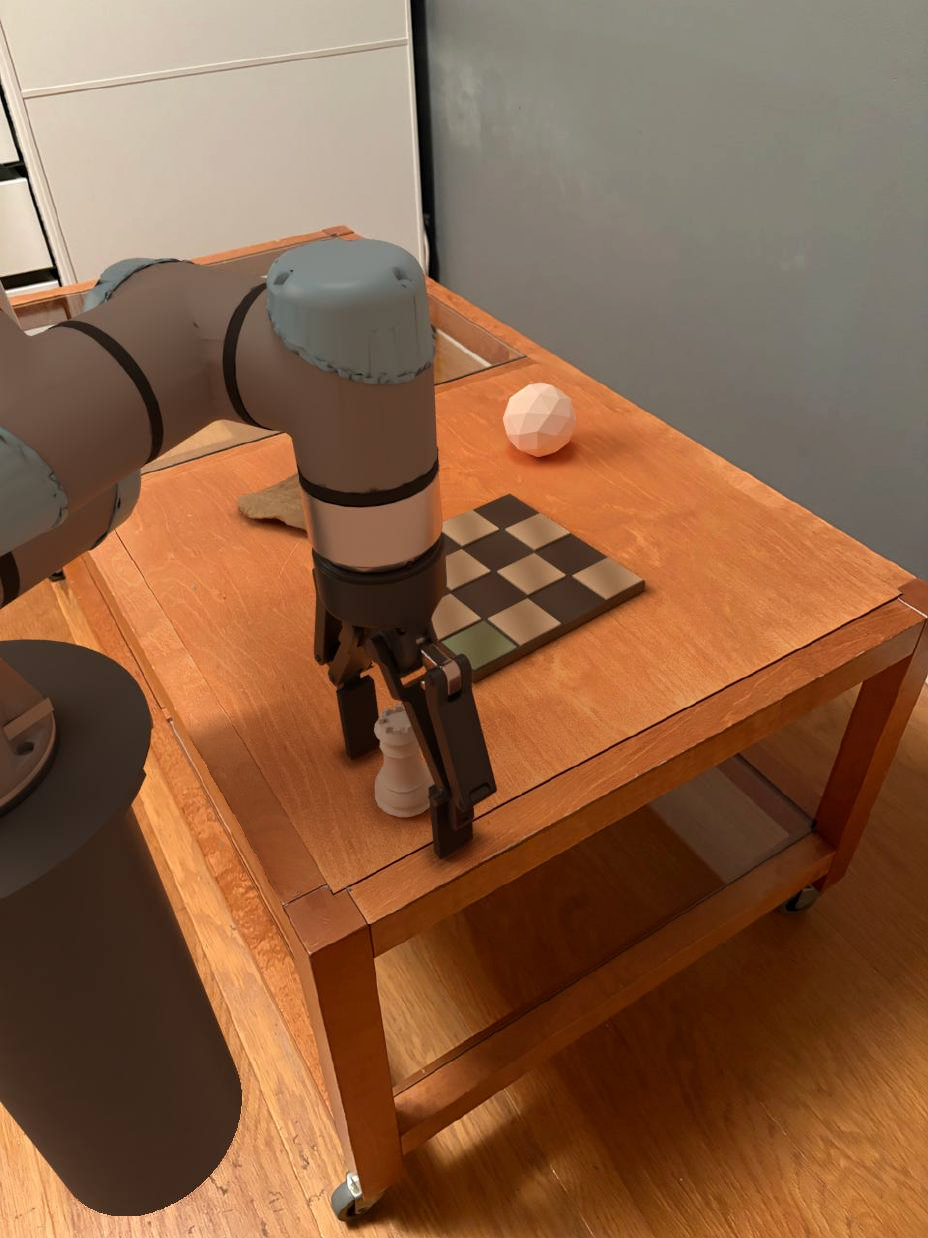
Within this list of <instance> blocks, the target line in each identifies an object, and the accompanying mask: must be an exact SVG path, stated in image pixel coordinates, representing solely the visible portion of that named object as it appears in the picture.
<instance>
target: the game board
mask: <svg viewBox="0 0 928 1238" xmlns="http://www.w3.org/2000/svg"><path fill="white" fill-rule="evenodd" d="M442 533H443V535H444V540H445V554H446V571H447V586H446V591H445V593H444V595H443V597H442V599H441V601H440V602H439V604H438V606H437V608H436V610H435V612H434V614H433V616H432V622H433V626H434V629H435V632H436V635H437V638H438V648H439V649H440V650H441V651H442V652H443V653H444V654H445V655H446V656H448V657H449V658H450V659H451V658H453V657H455V656H456V655H458V654H460V653H462V654H464V655H465V656H466V657H467V658H468V660H469V661H470V664H471V668H472V683H476V682H479V681H480V680H483V679H484V678H485V677H488V676H490V675H491V674H493V673H494V672H496V671H498V670H500V669H502V668H504V667H506V666H507V665H510V664H511V663H513V662H515V661H517V660H519V659H520V658H523V657H525V656H526V655H528V654H529V653H532V652H534V651H535V650H537V649H539V648H541V647H543V646H544V645H546V644H548V643H550V642H552V641H554V640H556V639H557V638H559V637H561V636H563V635H564V634H566V633H568V632H570V631H573V630H574V629H576V628H578V627H579V626H581V625H583V624H585V623H587V622H589V621H590V620H592V619H594V618H596V617H597V616H599V615H602V614H603V613H605V612H607V611H609V610H611V609H612V608H614V607H617V606H618V605H619V604H621V603H623V602H625V601H628V600H629V599H631V598H632V597H635V596H636V595H639V594H640V593H642V592H644V591H645V590H646V580H644V579H643V578H641V577H640V576H639V575H637V574H635V573H634V572H632V571H631V570H629V569H628V568H626V567H624V566H623V565H622V564H620V563H619V562H617V561H615V560H614V559H613V558H611V557H609V556H607V555H605V554H604V553H602V552H601V551H600V550H598V549H597V548H595V547H593V546H591V545H590V544H589V543H587V542H586V541H584V540H583V539H581V538H579V537H577V536H576V535H575V534H573V533H572V532H571V531H569V530H567V529H566V528H564V527H563V526H561V525H560V524H558V523H557V522H555V521H554V520H553V519H551V518H549V517H548V516H546V515H545V514H543V513H541V512H539V511H538V510H536V509H535V508H533V507H532V506H530V505H528V504H527V503H525V502H524V501H523V500H521V499H520V498H518V497H517V496H514V494H512V493H507V494H505V495H503V496H500V497H498V498H496V499H494V500H491V501H489V502H487V503H485V504H482V505H479V506H478V507H475V508H472V509H469V510H467V511H465V512H463V513H461V514H458V515H456V516H454V517H451V518H449V519H447V520H445V521H443V528H442Z"/></svg>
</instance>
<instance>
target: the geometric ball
mask: <svg viewBox="0 0 928 1238" xmlns="http://www.w3.org/2000/svg"><path fill="white" fill-rule="evenodd" d="M502 421H503V425H504V430H505V433H506V436H507V438H508V439H509V442H511V443H512V445H514V447H515V448H516V449H517V450H519V451H520V452H522V453H526V454H528V455H530V456H533V457H536V458H541V457H544V456H548V455H552V454H554V453H556V452H558V451H559V450H561V449H562V448H563V447H564V446H565V445H567V444H568V443H570V440H571V438H572V435H573V432H574V431H575V427H576V424H577V421H578V420H577V416H576V413H575V410H574V406H573V402H572V399H571V398H570V397H569V396H568V395H567V394H566V393H565V392H564V391H562V390H561V389H559V388H558V387H557V386H555V385H553V384H551V383H550V384H549V383H545V382H537V383H530V384H528V385H526V386H525V387H524V388H523V387H522V389H520V390H519V391H517V392H516V393H515V394H513V395H511V396H510V397H509V399H508V403H507V405H506V408H505V411H504V414H503V416H502Z"/></svg>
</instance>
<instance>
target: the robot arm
mask: <svg viewBox="0 0 928 1238" xmlns="http://www.w3.org/2000/svg"><path fill="white" fill-rule="evenodd" d="M428 297H429V296H428V287H427V281H426V276H425V272H424V270H423V267H422V265H421V263H420V262H419V261H418V259H417V258H416V256H414V255H413V254H412V253H411V252H409V251H408V250H407V249H405V248H403V247H401V246H400V245H397V244H395V243H393V242H389V241H386V240H385V241H384V240H380V239H375V238H357V239H353V240H348V239H346V240H345V239H343V238H335V239H334V238H331V239H325V240H318V241H313V242H308V243H306V244H302V245H299V246H296V247H293V248H292V249H289V250H288V251H285V252H283V253H282V254H281V255H279V256H278V257H277V258H276V259H275V260H274V261H273V262H272V263H271V266H270V268H269V269H268V272H267V275H266V277H262V276H257V275H253V274H247V273H244V272H243V273H242V272H239V271H238V272H237V271H232V270H228V269H227V270H226V269H222V268H218V267H212V266H207V265H202V264H201V263H195V262H193V261H192V260H188V259H183V260H179V259H178V258H175V257H167V258H165V257H164V258H150V257H149V258H148V257H132V258H126V259H121V260H119V261H117V262H115V263H113V264H111V265H109V266H108V267H107V268H105V269H104V270H103V272H102V273H100V277H99V279H98V280H97V282H96V283H95V285H94V286H93V287H92V288H91V289H90V290H89V291H88V292H87V294H86V295H85V298H84V301H83V305H82V310H81V313H80V314H78V315H75V316H74V317H72V318H69V319H68V320H64V321H61V322H58V323H57V324H54V325H51V326H50V327H48V328H47V329H45V330H44V331H40V332H38V333H36V334H32V335H29V334H27V333H26V332H25V331H24V330H23V328H22V325H21V323H20V321H19V318H18V316H17V314H16V312H15V309H14V308H13V306H12V303H11V301H10V299H9V297H8V294H7V292H6V290H5V288H4V286H3V283H2V281H1V280H0V610H3V608H5V607H6V606H8V605H9V604H11V603H12V602H14V601H15V600H17V599H18V598H20V597H21V596H23V595H25V594H26V593H27V592H29V591H30V590H32V589H33V588H35V587H36V586H37V585H39V584H41V583H42V582H43V581H45V580H46V579H48V578H50V577H51V576H52V575H54V574H55V573H57V572H58V571H59V570H61V569H63V568H65V567H66V566H67V565H69V564H70V563H71V562H73V561H74V560H76V559H78V558H79V557H80V556H82V555H84V554H85V553H86V552H89V551H92V550H94V549H96V548H97V547H99V546H100V545H102V543H103V542H104V541H105V540H106V539H107V538H108V536H109V535H110V534H111V533H113V532H114V531H115V530H116V529H118V528H119V527H120V526H122V525H123V524H124V523H125V522H126V521H127V520H128V519H129V518H130V517H131V516H132V514H133V512H134V509H135V508H136V506H137V503H138V501H139V498H140V495H141V489H142V468H144V467H146V466H147V465H148V464H150V463H152V462H154V461H156V460H157V459H159V458H160V457H162V456H164V455H165V454H166V453H168V452H170V451H171V450H173V449H175V448H177V446H179V445H181V444H182V443H183V442H185V441H187V440H188V439H190V438H192V437H193V436H194V435H196V434H197V433H199V432H200V431H202V430H203V429H205V428H207V427H208V426H210V425H212V424H213V423H215V422H218V421H229V422H233V423H238V424H241V425H246V426H250V427H254V428H258V429H261V430H266V431H271V432H279V433H283V434H287V435H288V436H289V437H290V439H291V443H292V449H293V454H294V458H295V464H296V469H297V472H298V475H299V488H300V494H301V499H302V505H303V511H304V517H305V523H306V529H307V531H306V534H307V541H308V543H309V544H310V546H311V557H312V563H313V568H312V570H311V573H312V579H313V584H314V589H315V613H314V636H313V656H314V660H315V662H316V663H317V664H318V665H319V666H320V667H322V666H325V665H326V666H327V667H328V668H329V669H328V671H327V676H328V679H329V681H330V683H331V684H332V685H333V686H334V687H336V690H335V695H336V699H337V706H338V712H339V719H340V724H341V729H342V730H341V731H342V736H343V741H344V747H345V754H346V755H347V756H348V758H349V759H350V760H351V761H353V760H354V759H356V758H358V757H360V756H361V755H363V754H366V753H367V752H369V751H371V750H372V749H374V748H376V747H378V746H380V740H379V739H378V738H377V736H376V734H375V732H374V728H375V723H376V722H377V720H378V719H379V715H380V713H379V705H378V699H377V691H376V682H375V679H374V678H373V676H371V675H370V674H366V675H364V676H362V677H361V674H363V673H365V672H367V671H369V670H371V669H373V668H375V667H376V666H375V665H373V663H374V664H376V665H377V666H378V667H379V670H380V672H381V675H382V677H383V680H384V682H385V685H386V687H387V690H388V692H389V695H390V697H391V699H393V700H394V701H396V702H401V704H402V705H403V709H405V711H406V714H407V716H408V719H409V721H410V724H411V726H412V729H413V731H414V734H415V736H416V739H417V741H418V744H419V746H420V748H419V750H420V751H421V754H422V756H423V759H424V762H425V763H426V765H427V766H428V768H429V771H430V773H431V776H432V778H433V781H434V783H435V784H434V785H432V786H430V787H429V788H428V791H429V796H427V797H428V799H429V801H430V807H429V811H430V822H431V833H432V844H433V852H434V853H435V855H436V856H437V857H438V858H439V859H440V860H442V859H444V858H446V857H447V856H448V855H450V854H451V853H453V852H454V851H456V850H457V849H459V848H461V847H462V846H464V845H466V844H467V843H469V842H470V841H472V840H473V839H474V827H473V825H474V824H473V821H474V819H475V806H476V805H478V804H480V803H481V802H483V801H484V800H486V799H488V798H489V797H491V796H492V795H495V794H496V793H497V791H498V787H497V783H496V779H495V775H494V770H493V767H492V763H491V759H490V756H489V752H488V751H489V750H488V746H487V743H486V739H485V736H484V732H483V731H484V730H483V728H482V724H481V720H480V716H479V712H478V708H477V704H476V701H475V696H474V692H473V681H472V668H471V664H470V661H469V660H468V658H467V657H466V656H465V655H464V654H462V653H460V654H458V655H456V656H455V657H453V658H451V659H450V658H449V657H448V656H446V655H445V654H444V653H443V652H442V651H441V650H440V649H439V648H438V638H437V635H436V632H435V629H434V626H433V622H432V616H433V614H434V612H435V610H436V608H437V606H438V604H439V602H440V601H441V599H442V597H443V595H444V593H445V591H446V586H447V571H446V554H445V540H444V535H443V533H442V528H443V522H444V521H443V509H442V507H443V506H442V494H441V493H442V492H441V481H440V480H441V479H440V471H441V469H440V468H441V467H440V466H441V465H440V459H439V451H440V450H439V446H438V436H437V433H438V432H437V412H436V389H435V387H436V386H435V356H436V355H437V347H436V346H437V344H436V337H435V333H434V331H433V327H432V322H431V314H430V308H429V299H428ZM422 668H424V669H425V671H424V673H423V674H421V675H418V676H417V677H415V678H413V679H412V680H410V681H407V682H406V683H403V682H402V679H404V678H407V677H409V676H411V675H413V674H414V673H416V672H418V671H420V670H421V669H422ZM53 710H54V709H53V706H52V704H51V702H50V700H49V697H48V698H46V699H44V698H43V697H42V695H41V694H40V693H39V692H38V691H37V690H36V689H35V688H34V687H33V686H32V685H30V684H29V683H28V682H27V681H26V680H25V679H24V678H23V677H22V676H21V675H19V674H18V673H17V672H16V671H15V670H14V669H13V668H12V667H11V666H10V665H8V664H7V663H6V662H5V661H4V660H3V659H2V658H1V657H0V818H1V817H3V816H4V815H6V814H7V813H9V812H10V811H11V810H13V809H14V808H15V807H17V806H18V805H19V804H20V803H22V802H23V801H24V800H25V799H26V798H27V797H28V796H29V795H30V794H31V793H32V792H33V791H34V790H35V789H36V788H37V787H38V786H39V785H40V783H41V782H42V781H43V780H44V778H45V777H46V775H47V774H48V772H49V771H50V769H51V767H52V765H53V763H54V761H55V759H56V756H57V753H58V749H59V743H60V733H59V728H58V724H57V722H56V720H55V717H54V715H53V713H52V711H53Z"/></svg>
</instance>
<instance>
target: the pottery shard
mask: <svg viewBox="0 0 928 1238" xmlns="http://www.w3.org/2000/svg"><path fill="white" fill-rule="evenodd" d="M236 507H237V511H239V513H242V514H243V515H244V516H245V517H248V518H250V519H252V520H263V519H270V520H271V519H275V520H280V522H284V523H285V524H286V526H291V527H293V528H296V529H301V530H304V531H305V532H307V529H306V523H305V517H304V511H303V505H302V499H301V494H300V488H299V475H298V471H297V472H295V473H293V474H292V475H291V476H288V477H287V478H285V479H283V480H281V481H280V482H277V483H275V484H274V485H271V486H269V487H267V488H265V489H262V490H260V491H257V492H252V493H246V494H242V495H239V496H238V497H237V500H236Z"/></svg>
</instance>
